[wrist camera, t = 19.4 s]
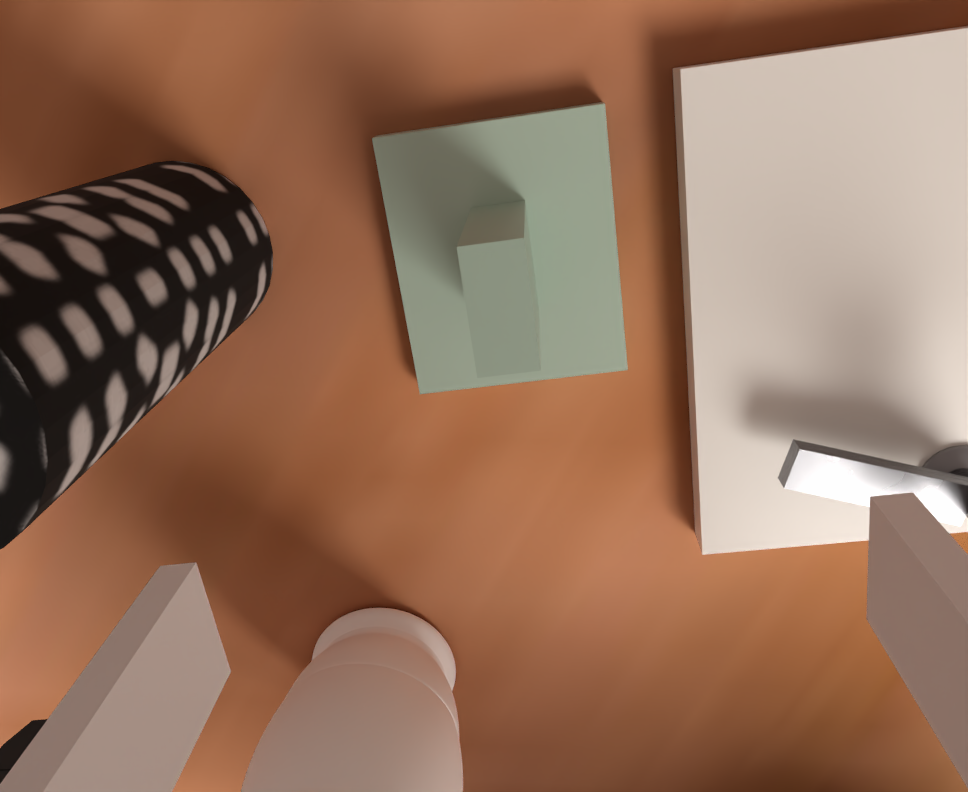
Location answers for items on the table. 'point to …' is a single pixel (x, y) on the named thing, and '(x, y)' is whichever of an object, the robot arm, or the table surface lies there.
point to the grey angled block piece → (873, 479)
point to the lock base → (822, 274)
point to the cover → (506, 247)
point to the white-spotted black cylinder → (112, 314)
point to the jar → (366, 713)
